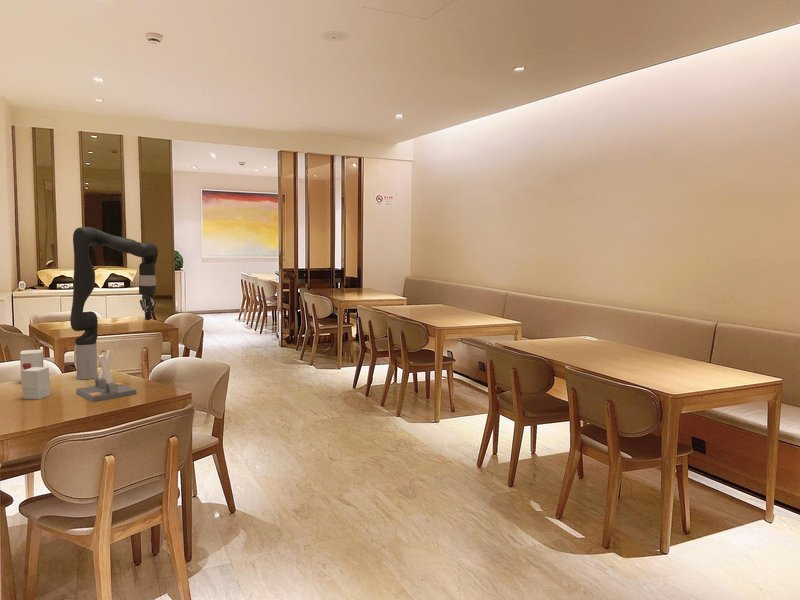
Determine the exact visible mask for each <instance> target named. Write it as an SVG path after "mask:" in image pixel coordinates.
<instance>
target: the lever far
mask: <svg viewBox="0 0 800 600" xmlns="http://www.w3.org/2000/svg"><path fill="white" fill-rule="evenodd" d="M114 354H115V351H114V350H111V349H107V350H106V354H105V357H106V360H107V363H108V366H109V367H110V366H111V363H112V360H113V357H114ZM100 379H105V377H104V374H103V371H102V368H100V371H99V373H98V379H97V382H99V380H100Z"/></svg>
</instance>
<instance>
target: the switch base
mask: <svg viewBox="0 0 800 600" xmlns="http://www.w3.org/2000/svg"><path fill="white" fill-rule="evenodd" d="M97 379H98V377H96V378H94V385H92V386H86V387H80V388H76V391H75V392H76V394H77V395H79V396H81V397H82V398H84V399H86V400H89V401H90V402H92V403H93V402H100V401H105V400H111V399H115V398H122V397H127V396H133V394H134V395H137V389H135V388H134V387H131V386H128V385H126V384H124V383H121V382H119V381H118V382H114V384H109V387H108V386H107V382H106V380H105V379H100V380H99V382H97Z"/></svg>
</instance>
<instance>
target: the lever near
mask: <svg viewBox="0 0 800 600" xmlns="http://www.w3.org/2000/svg"><path fill="white" fill-rule="evenodd" d="M105 356H106V354H103V353H102V354H100V355H97V360H98V362H99V365H100V367H101V368H102V371H103V374H104V377H105V380H106V382H107V386H108V387H109V384H114V383H115V382H114V377H113V375H112V373H111V372H112V371H111V369H110V366H108V363H107V360H106V357H105ZM101 368H100V369H101Z"/></svg>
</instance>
